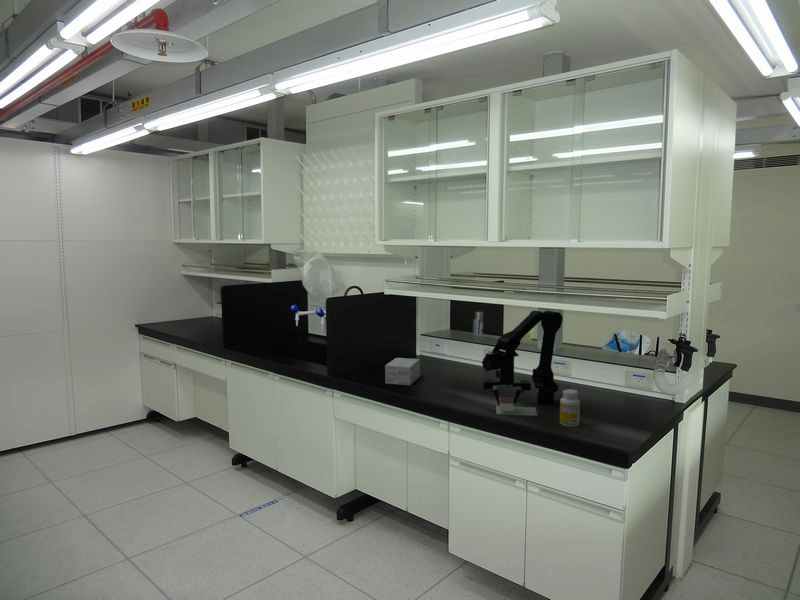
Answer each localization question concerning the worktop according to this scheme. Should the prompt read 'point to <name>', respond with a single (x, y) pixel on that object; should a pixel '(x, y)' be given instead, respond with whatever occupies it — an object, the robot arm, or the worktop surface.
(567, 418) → the supplement bottle
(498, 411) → the mat
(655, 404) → the worktop surface
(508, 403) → the card deck
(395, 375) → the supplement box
